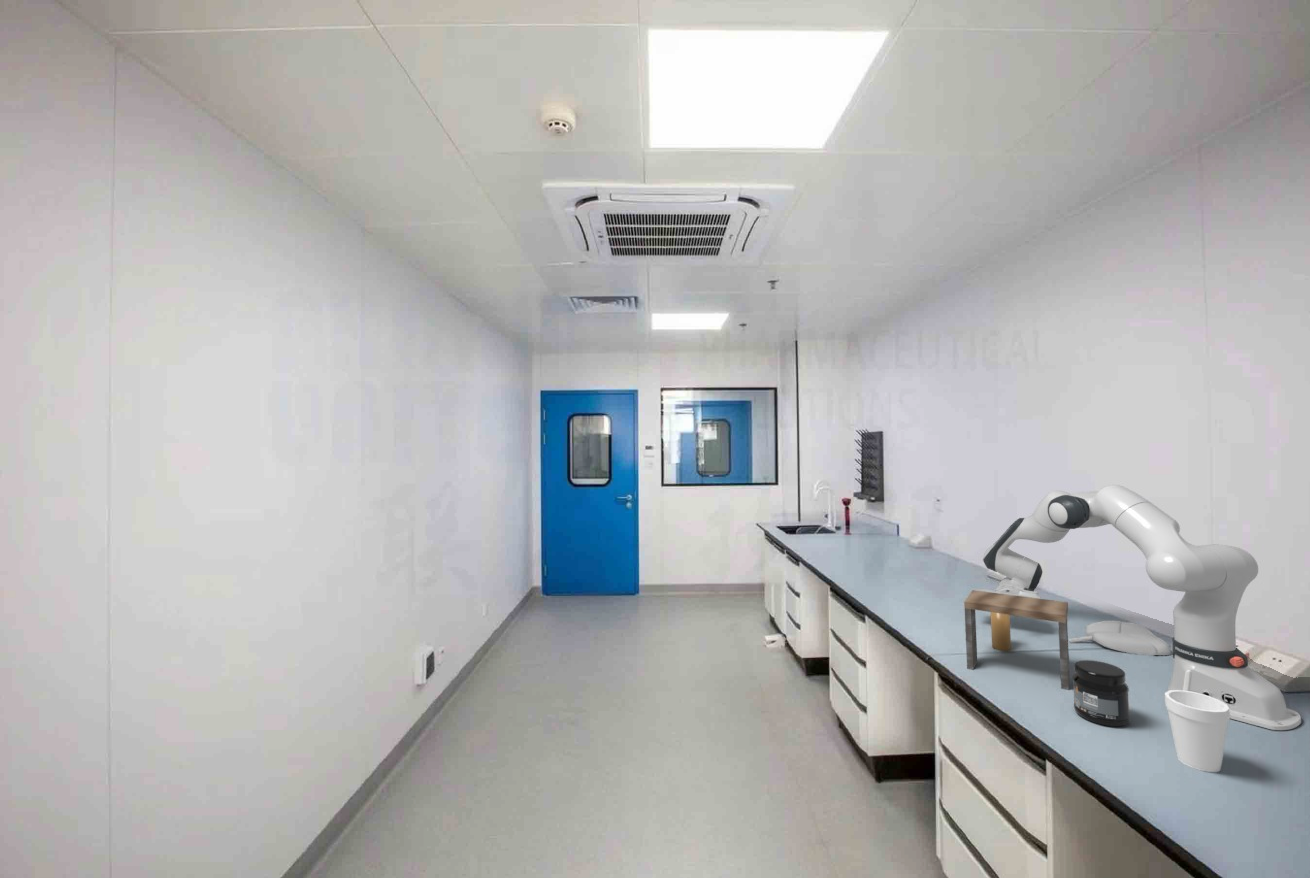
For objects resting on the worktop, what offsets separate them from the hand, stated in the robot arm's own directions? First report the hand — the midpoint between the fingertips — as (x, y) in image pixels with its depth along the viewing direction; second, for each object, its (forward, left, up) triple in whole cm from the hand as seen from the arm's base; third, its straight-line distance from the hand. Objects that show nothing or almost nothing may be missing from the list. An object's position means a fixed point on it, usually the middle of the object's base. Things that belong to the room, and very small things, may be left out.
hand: (1004, 606), depth 182 cm
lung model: (-21, -22, -11) cm, 32 cm away
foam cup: (-61, +36, -11) cm, 72 cm away
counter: (-17, +22, -10) cm, 30 cm away
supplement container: (-42, +32, -11) cm, 54 cm away
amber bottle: (-5, +10, -10) cm, 15 cm away
